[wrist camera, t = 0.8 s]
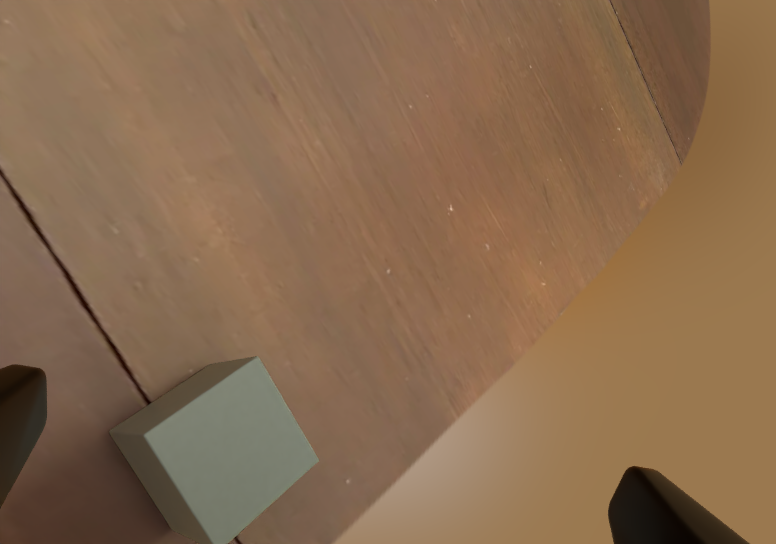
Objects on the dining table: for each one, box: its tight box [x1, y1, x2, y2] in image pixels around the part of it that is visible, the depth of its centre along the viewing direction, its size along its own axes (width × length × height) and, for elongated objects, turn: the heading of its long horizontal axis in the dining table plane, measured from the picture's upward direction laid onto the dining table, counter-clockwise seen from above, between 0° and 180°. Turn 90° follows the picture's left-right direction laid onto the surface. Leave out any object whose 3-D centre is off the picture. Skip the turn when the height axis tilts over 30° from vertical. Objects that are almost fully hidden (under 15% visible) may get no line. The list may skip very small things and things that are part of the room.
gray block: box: [109, 356, 319, 544], centre depth 21 cm, size 4×4×4 cm
